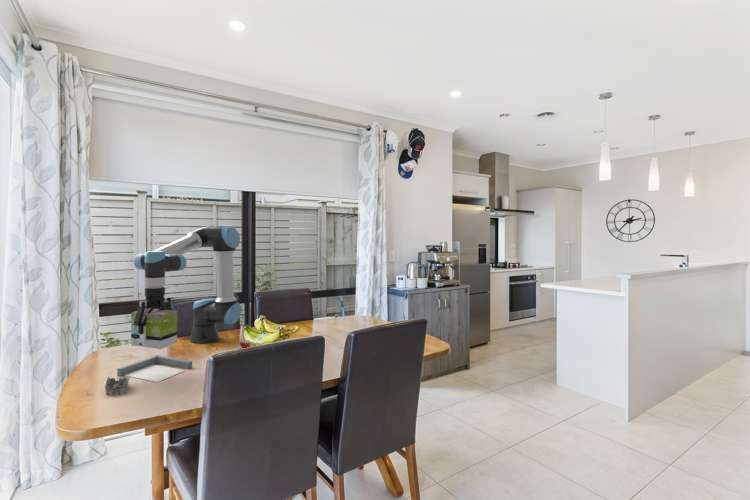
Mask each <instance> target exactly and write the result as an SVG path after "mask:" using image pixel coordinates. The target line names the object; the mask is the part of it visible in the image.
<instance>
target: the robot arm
mask: <svg viewBox="0 0 750 500" xmlns="http://www.w3.org/2000/svg"><path fill="white" fill-rule="evenodd" d="M240 242H241V237H240V233H239V231H238V230H237V229H236V228H235V227H233V226H226V225H223V226H222V225H218V226H217V225H215V226H214V225H208V226H203V227H201V228H197V229H195V230H192V231H190V232H188V233H187V234H186V236H184V237H182V238H179V239H177V240H175V241H173V242H171V243H168V244H165V245H164V246H161V247H159V248H157V249H155V250H148V251H146V252H145V253H144V252H143V253H138V254H136V255H135V256H134V259H133V264H134V267H135V268H136V269H138V270H141V271H142V270H143V271H144V286H145V288H144V297H145V300H143V301H142V300H140V301H138V302H137V304H138V305H137V310H136V311H137V313H136V317H135V320H134V324H133V325H136V326H138V333H139V334H140V341H141V342H146V326H144V325H145V323H146V321H147V315H144V316H143V314H144V313H147V314H148V313H151V311H153V309H159V310H173V307H172V303H171V297H170V296H168V297H167V296H165V295H166V287H165V286H166V273H168V272H178V271H182V270H184V269H185V268H186V266H187V264H188V263H187V258H186V257H185V256H184V254H186V253H188V252H190V251H193V250H198V249H201V248H212V252H213V253H215V263H216V295H217V297H216V298H215V297H214V298H212V297H211V298H205V299H204V298H203V299H198V300H195V301H194V302H193V305H192V313H193V315H192V316H193V318H192V321H193V323H192V325H193V326H192V330H191V333H190V336H189V342H190V343H193V344H208V343H213V342H217V341H218V340H219V337H220V334H219V333H218V329H217V326H216V323H217V324H225V325H228V324H231V325H232V324H235V323H237V321H239V319H240V318H241V315H242V310H243V309H242V305H241V304H240V303H239V302H238V299H237V297H235V291H234V289H235V287H234V285H235V284H234V255H233V254H234V253H235V252H236V248H238V247H239V246H240ZM148 308H149V309H148ZM144 310H145V311H144Z"/></svg>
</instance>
